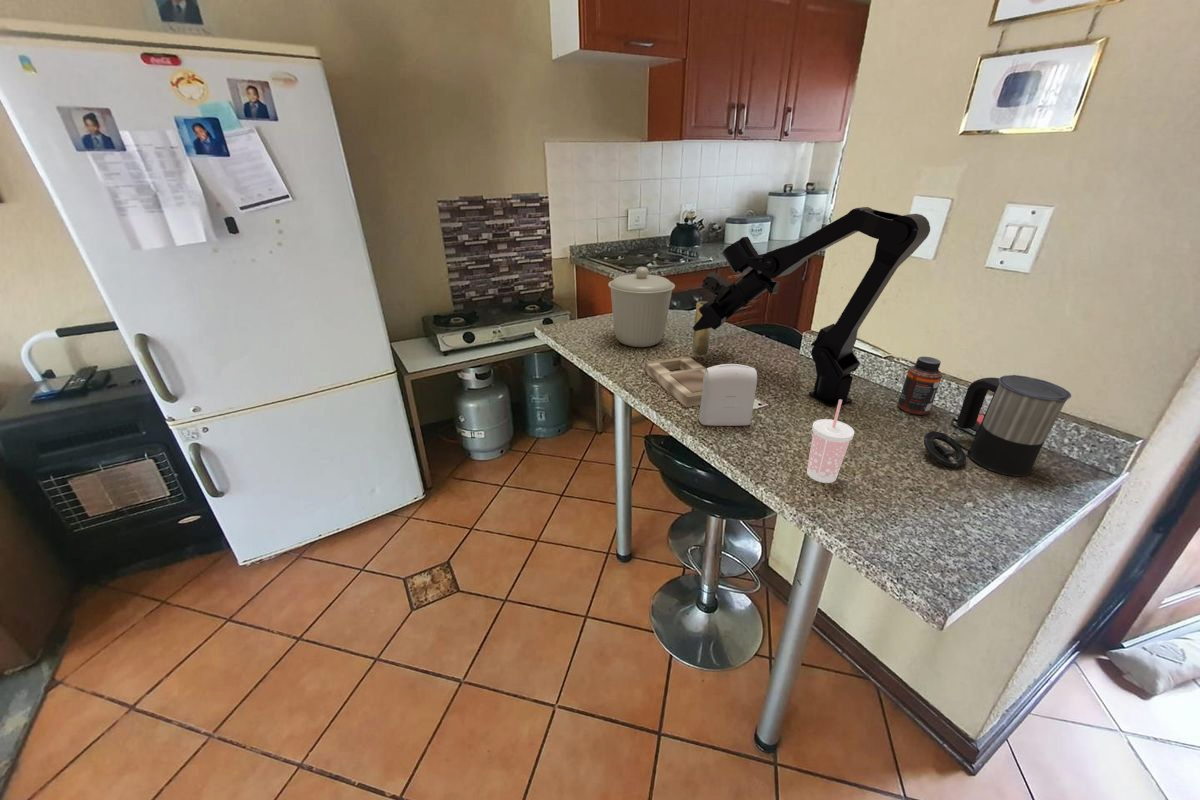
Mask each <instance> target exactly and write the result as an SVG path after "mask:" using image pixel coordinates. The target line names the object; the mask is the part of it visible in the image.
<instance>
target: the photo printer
mask: <svg viewBox="0 0 1200 800" xmlns="http://www.w3.org/2000/svg"><path fill="white" fill-rule="evenodd" d="M757 384H758V372H757V370H756V368H754V367H752V366H749V365H746V364H744V365H743V364H737V363H723V364H717V365H716V364H715V365H713V366H710V367H707V368H706V370H705V375H704V378H703V387H702V397H701V405H700V408H699V417H698V418H699V419H698V421H699V423H700V424H702V425H703V426H716V427H717V426H721V427H722V426H731V427H732V426H735V427H736V426H739V427H740V426H750V425H751V422H752V415H753V409H754V404H755V399H756V398H755V396H756V392H757V391H756V390H757Z"/></svg>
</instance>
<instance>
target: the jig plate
mask: <svg viewBox="0 0 1200 800" xmlns="http://www.w3.org/2000/svg"><path fill="white" fill-rule="evenodd" d="M706 369H707V368H706V367H705V366H703V365H701V364H700V363H698V362H697V361H696V360H694V359H693V358H691V357H690V356H689V355H688V356H681V357H673V358H665V359H658V360H652V361H645V362H644V373H645V374H647V375H648V376H649V377H650V378H651V379H653V381H655V382H656V383H657V384H658V385H660V387H662V388H663V389H664V390H665V391H666V392H667V393H669V394H670V395H671V396H673V398H675V399H676V400H677V401H678V402H679V403H681V404H682V405H683V406H684V407H685V408H687V407H688V408H693V407H692V406H694V407H699V406H701V397H702V387H703V378H704V375H705V370H706ZM698 405H699V406H698Z"/></svg>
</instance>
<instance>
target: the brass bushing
mask: <svg viewBox="0 0 1200 800" xmlns="http://www.w3.org/2000/svg"><path fill="white" fill-rule="evenodd" d="M707 302H708V301H697V302H696V306H695V317H694V325H695V324H696V323H697V322H698V321H699V319H700V318H701V317H702V314H701V313H700V311H699V308H700V307H702V306H703V305H704V304H706V303H707ZM710 334H711V328H708V329H703V330H699V331H694V330H693V336H692V337H693V339H692V346H691V347H692V348H691V353H692V354H693V355H695V356H706V355H708V352H709V351H708V349H709V341H710Z"/></svg>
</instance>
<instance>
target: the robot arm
mask: <svg viewBox="0 0 1200 800" xmlns="http://www.w3.org/2000/svg"><path fill="white" fill-rule="evenodd" d="M859 232H860V233H861V234H864V235H866V236H868V237H870V238H872V239H876V240H877V243H876V245H875V251H874V256H873V257H874V258H873V261H872V262H871V264H870V265H869V267H868V268H867V271H866V272H865V275H864V276H863V277H862V279H861V281H860V282H859V284H858V286H857V288H855V291H854V292H853V294H852V296H851V297H850V298H849V301H848V302H847V304H846V306H845V308H844V310H843V311H842V312H841V314H840V315H839V318H838V319H837V321H836V322H835V323H832V324H830V325H828V326H825V327H822V328H820V329H819V331H818V334H817V336H816V339H815V340H814V341H813V342H812V343H811V344H810V346H812V349H811V351H810V355H811V358H812V360H813V362H814V366H815V373H816V374H815V375H816V378H815V383H814V387H813V391H810V392H808V396H810V397H812V398H813V399H815V400H817V401H819V402H820V403H822V404H824V405H826V406H828V407H834V406H838V402H839V399H841V400H842V404H841V405H844V404H849V403H852V400H853V399H852V398H850V397H849V393H850V391H851V390H850V389H851V386H852V382H853V376H852V374H851V373H853V372H855V371H857V369H858V368H859V366H861V362H860V361H859V359H858V358H857V356H856V354H855V353H854V352H853V350H854V347H855V346H856V345H855V344H856V342H857V336H858V331H859V328H860V327H861V325H862V324H863V322H864V320H865V319H866V318H867V316H868V315H869V313H870V312H871V310H872V308H873V307H874V305H875V304H876V302H877V301H878V299H879V297H880V296H881V294H882V293H883V291H884V290H885V288H886V287H887V285H888V283H889V282H890V280H891V279H892V278H893V276H894V274H895V273H896V271H897V269H898V268H899V267H900V266H901V265H902V264H903V263H905V261H906V260H907V259H908V258H909V257H910V256H912V254H914V253H915V251H917V250H918V248H919V247H920V246H921V245H922V243H924V242H925V241H926V239H928V236H929V235H930V232H931V226H930V222H929V220H928V219H927V217H926V216H924V215H923V214H919V213H910V214H909V213H908V214H905V215H904V214H903V215H901V214H897V213H893V212H887V211H882V210H877V209H874V208H871V207H869V206H862V207H855V208H853V209H851V210H850V211H849V212H847V213H846V214H844V215H843V216H840V217H839V218H836V220H834V221H832V222H830V223H828V224H827V225H824V227H821V228H820V229H818V230H816V231H814V232H813V233H811V234H809V235H808V236H806V237H804V238H802V239H800V240H798V241H797V242H794V243H792V244H788V245H785V246H783V247H779V248H776V249H773V250H770V251H767V252H765V253H761V254H759V253H758V251H757V250H756V248H755V246H753V244H752V242H751V239H750V238H749V237H748V236H742V237H741V238H740V239H739V240H737V241H735V242H733V243H732V244H729V245H728V246H726V247H725V248H724V249H723V251H722V256H723V257H724V260H726V262H727V264H728V265H729V267H730V268H731V270H732V271H733V274H735V275H738V274H740V275H742V277H741V278H739V280H737V281H734V282H733V283H731V282H730V281H729V280H728V279H726V278H724V277H722V275H719V274H718V273H717V272H714V271H711V272H709V273H707V275H706V277H705V278H704V279H703V280H702V284H701V288H703V289H705V290H707V291H709V292H710V293H712V294H713V295H715V296H714V297H713V298H714V299H713V301H712V300H708V301H706V302H707V303H706V304H704V305H703V306H702V307H700V308H699V311H700V313H701V314H702V317H701V318H700V319H699V321H698V322H697V323H696V324H695V323H694V326H693V327H692V330H693V332H694V331H699V330H703V329H708V328H710V329H712V330H717V329H718V328H719V327H720V326H722V325H724V324H725V323H726V320H728V319H729V318H731V317H732V316H733V315H736V314H737V313H739V312H740V311H741V310H742V309H743V308H744V307H745V306H747V305H748V304H749V303H750V302H752V301H754V300H755V299H756V298H758V297H759V296H760V295H761V294H763V293H764V292H766V291H768V294H771V295H772V294H775V295H776V294H778V293H779V285H780V281H774V279H776V278H780V277H783V276H787V275H790V274H791V273H793V272H794V271H796V270H797V269H798V268H800V267H801V266H802V265H803V264H804V263H805V262H806V261H807V260H808V259H809V258H811V257H812V256H814V255H816V254H818V253H820V252H821V251H824V250H826V249H828V248H829V247H831V246H833V245H835V244H837V243H839V242H841V241H843V240H845V239H847V238H849V237H850V236H853V235H854V234H856V233H859Z"/></svg>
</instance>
